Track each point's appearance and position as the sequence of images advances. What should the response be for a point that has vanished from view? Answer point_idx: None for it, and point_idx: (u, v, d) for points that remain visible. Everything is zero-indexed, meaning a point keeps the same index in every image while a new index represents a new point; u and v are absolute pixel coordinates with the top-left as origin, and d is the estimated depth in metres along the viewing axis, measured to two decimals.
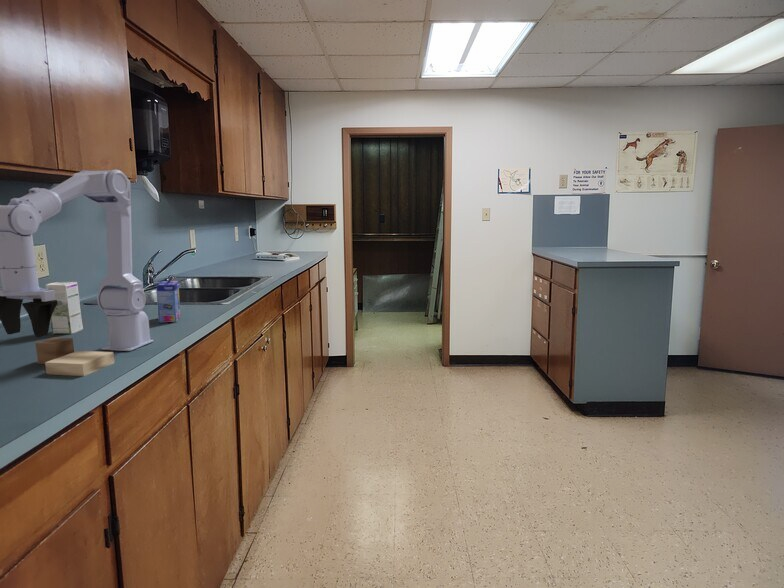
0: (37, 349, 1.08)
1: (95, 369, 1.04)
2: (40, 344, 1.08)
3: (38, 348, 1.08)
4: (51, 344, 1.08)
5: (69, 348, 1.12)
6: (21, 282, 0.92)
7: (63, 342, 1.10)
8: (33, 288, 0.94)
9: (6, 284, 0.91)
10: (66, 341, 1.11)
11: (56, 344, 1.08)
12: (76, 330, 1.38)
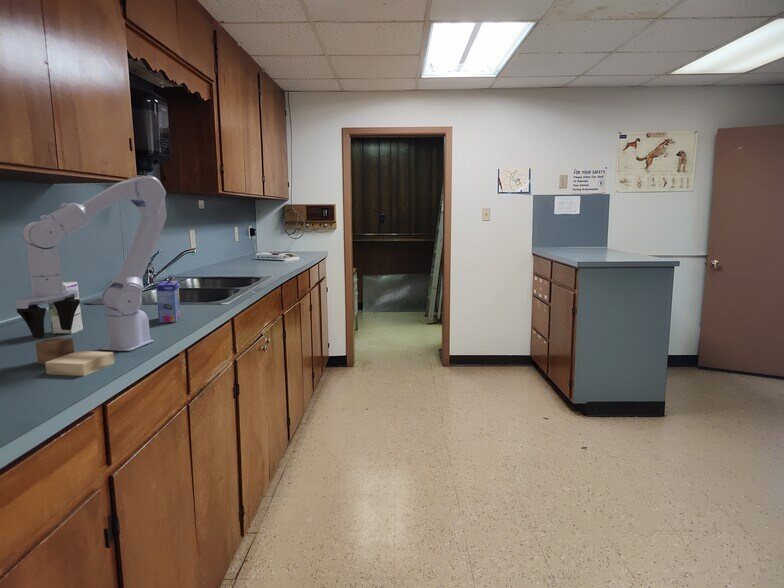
0: (37, 349, 1.08)
1: (95, 369, 1.04)
2: (40, 344, 1.08)
3: (38, 348, 1.08)
4: (51, 344, 1.08)
5: (69, 348, 1.12)
6: (32, 288, 1.06)
7: (63, 342, 1.10)
8: (38, 295, 1.06)
9: None
10: (66, 340, 1.11)
11: (56, 344, 1.08)
12: (76, 330, 1.38)
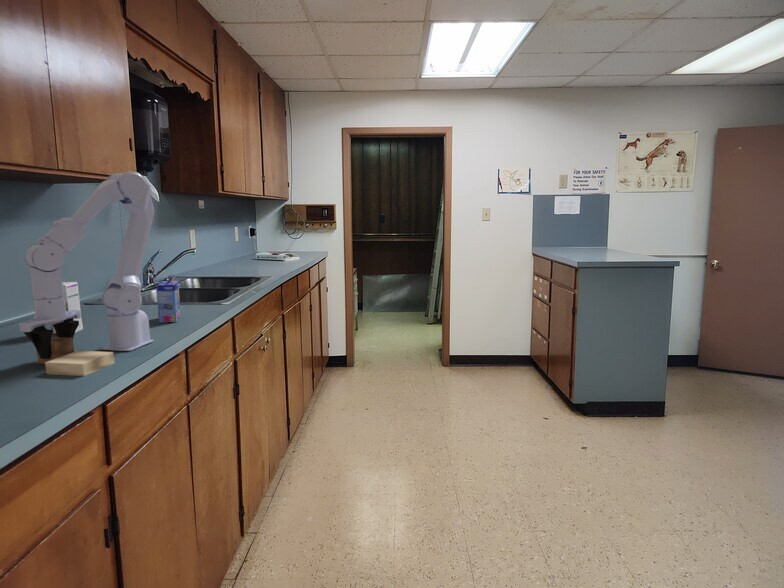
0: None
1: (95, 369, 1.04)
2: None
3: None
4: (51, 343, 1.08)
5: (69, 348, 1.12)
6: (35, 310, 1.07)
7: (63, 342, 1.10)
8: (41, 317, 1.07)
9: None
10: (66, 340, 1.11)
11: (56, 343, 1.08)
12: (76, 330, 1.38)
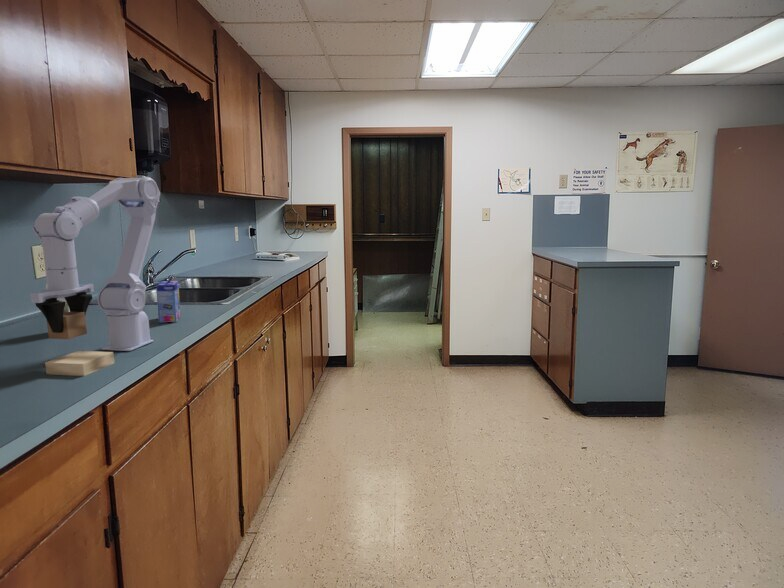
0: None
1: (95, 369, 1.04)
2: None
3: None
4: None
5: (81, 322, 1.07)
6: (47, 282, 1.02)
7: (75, 315, 1.05)
8: (53, 289, 1.02)
9: None
10: (78, 314, 1.06)
11: (67, 317, 1.03)
12: None
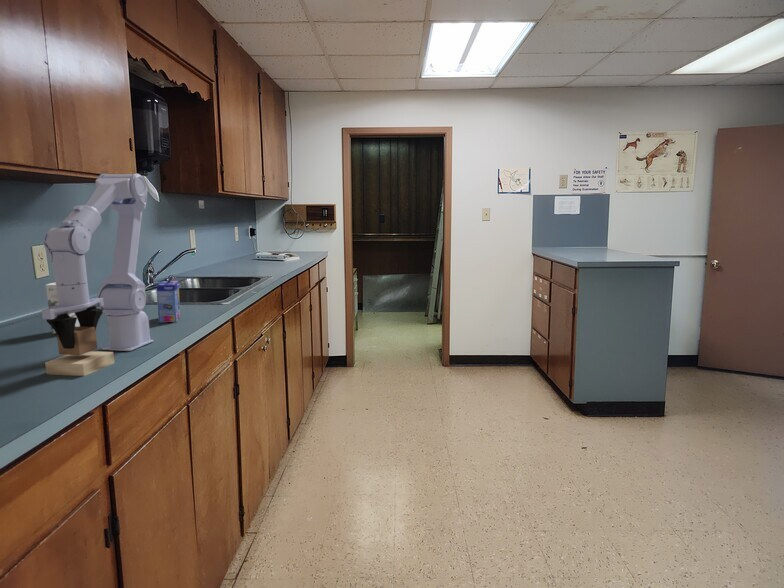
0: (58, 338, 1.02)
1: (95, 369, 1.04)
2: None
3: None
4: None
5: (91, 337, 1.06)
6: (58, 297, 1.01)
7: (85, 331, 1.04)
8: (64, 304, 1.01)
9: None
10: (89, 329, 1.05)
11: (78, 333, 1.02)
12: None
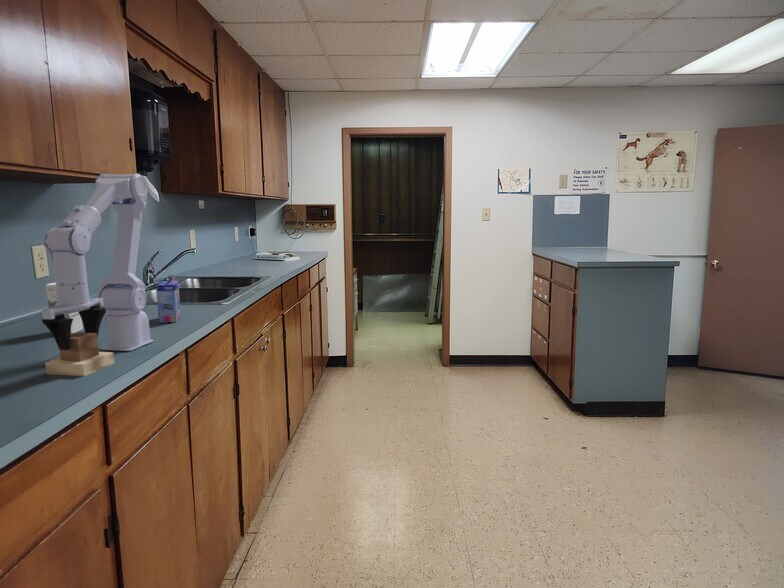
0: None
1: (95, 369, 1.04)
2: None
3: None
4: (74, 339, 1.02)
5: (93, 344, 1.06)
6: (58, 297, 1.01)
7: (87, 337, 1.04)
8: (64, 304, 1.01)
9: None
10: (90, 336, 1.05)
11: (79, 339, 1.02)
12: (76, 330, 1.38)
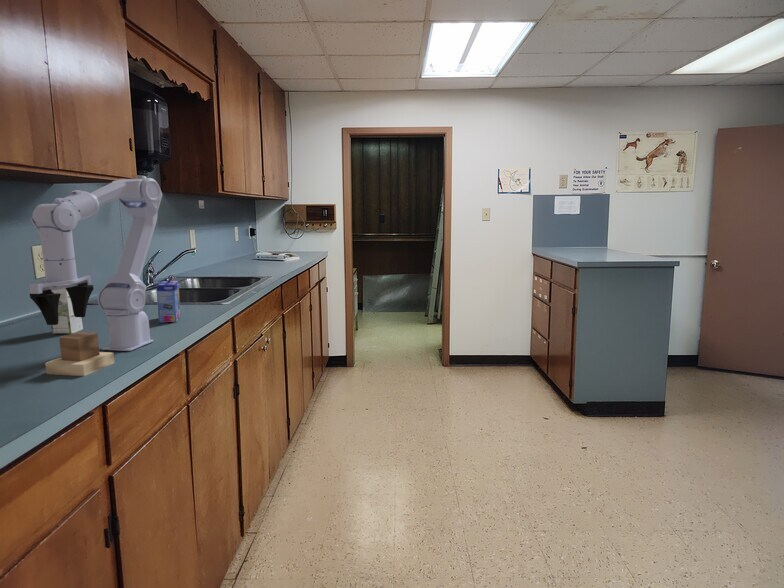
0: (61, 344, 1.03)
1: (95, 370, 1.04)
2: (64, 339, 1.03)
3: (62, 343, 1.03)
4: (74, 339, 1.02)
5: (93, 344, 1.06)
6: (45, 273, 1.02)
7: (87, 337, 1.04)
8: (52, 280, 1.02)
9: None
10: (91, 336, 1.05)
11: (80, 339, 1.02)
12: (76, 330, 1.38)
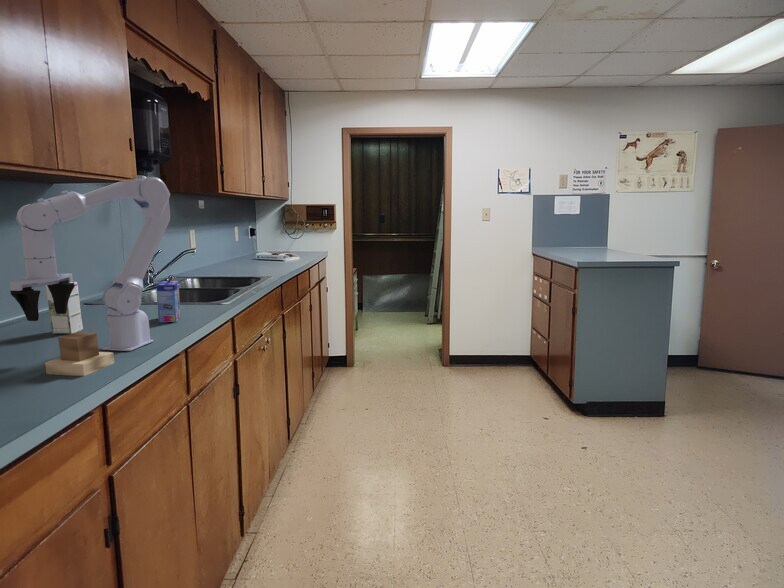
0: (60, 344, 1.03)
1: (95, 369, 1.04)
2: (63, 339, 1.02)
3: (61, 343, 1.03)
4: (73, 339, 1.02)
5: (93, 343, 1.05)
6: (26, 271, 1.06)
7: (86, 337, 1.04)
8: (32, 277, 1.05)
9: None
10: (90, 336, 1.05)
11: (78, 339, 1.02)
12: (76, 330, 1.38)
